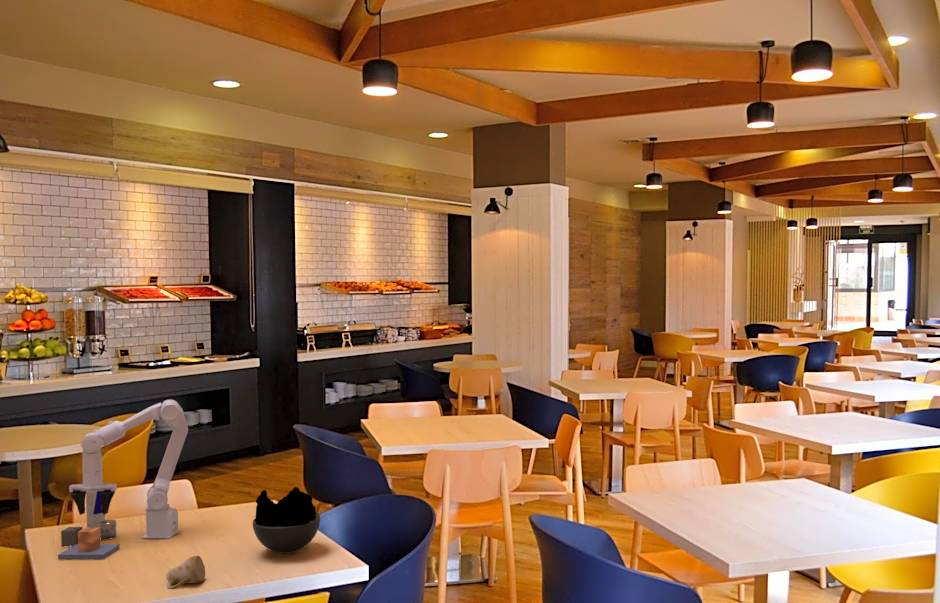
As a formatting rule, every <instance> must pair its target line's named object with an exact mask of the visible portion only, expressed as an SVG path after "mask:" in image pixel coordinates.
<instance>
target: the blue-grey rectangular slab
mask: <svg viewBox="0 0 940 603" xmlns="http://www.w3.org/2000/svg"><path fill="white" fill-rule="evenodd" d="M120 546H121V545H120V543H112V544H111V543H105V544H104V543H100V547H99V548H98V549H96V550H95V551H93V552H79V551H78V544H76V545H74V546H72V547H68V548H67V549H66V550H64V551H62V552H60V553H58V554H57V560H58V559H104V560H105V559H107V558H108V557H110V556H111V555H112V554H114V553H116V552H117V551H119V550H120V549H121V547H120ZM106 557H107V558H106Z"/></svg>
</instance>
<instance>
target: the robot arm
mask: <svg viewBox="0 0 940 603" xmlns="http://www.w3.org/2000/svg"><path fill="white" fill-rule="evenodd" d="M160 418H161V419H162V420H163V421H164V422H165V423H166V424H168V426H169V427H170V429H171V431H172V432H171V436H170V439H169V441H168V443H167V446H166V449H165V453H164V454H163V455H164V456H163V458H162V461H161V464H160V466H159V469H158V472H157V475H156V477H155V479H154V482H153V484H152V486H151V487H150V488H149V489H148V490H147V492H146V497H147V498H146V505H147V506H146V507H145V525H146V526H145V528H146V533H145V534H144V535H142V536H141V537H140V538H141V539H170V538H172V537H173V536H175V535H176V534H178V533H179V532H180V529H179V515H178V514H179V512H178V510H177V508H176V507H175V508H174V507H170V504H169V503H168V501H169V498H168V492H169V488H170V485H171V482H172V478H173V476H174V472H175V470H176V466H177V463H178V461H179V458H180V455H181V453H182V450H183V447H184V444H185V441H186V439H187V436H188V433H189V426H188V422H187V419H186V417H185V413H184V409H183V408H182V407H181V405H180V404H179V403H178V401H176V400H174V399H166V400H163V402H158V403H155V404H153V405H151V406H149V407H146V408H145V409H143V410H142V411H140V412H138V413H136V414H134V415H132V416H130V417H128V418H127V419H125V420H123V421H119V420H115V421H113V420H110V421H108V422H107V424H106V425H104V426H102V427H100V428H99V429H97V428H94V429H93V431H92V432H89V433H87V434H85V435H84V437H83V438H82V440H81V444H80V448H81V449H82V458H81V460H82V465H81V466H82V483H80V484H79V483H78V484H71V485H69V487H68V489H69V493H70V497H71V498H72V500H73V501H74V503H75V506H76V508H77V511H78V514H79V515H83V514H85V513H86V491H104V492H102V493H100V496H101V499H102V511H103V514H105V515H107V514H109V510H110V506H111V501H112V500H113V497H114V495H115V493H116V491H117V490H118V487H117V486H118V485H117V483H106V482H105V483H104V482H103V479H104V478H103V475H104V474H103V456H102V448H101V447H103V446H104V447H105V446H108V445H110V444H113V443H114V442H116V441H117V440H120V439H121V438H124V437H125V435H126V433H127V431H129V430H130V429H132V428H135V427H137V426H139V425H142V424H144V423H145V422H148V421H149V420H151V421H152V420H154V421H160Z"/></svg>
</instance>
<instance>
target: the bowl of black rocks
mask: <svg viewBox="0 0 940 603" xmlns="http://www.w3.org/2000/svg"><path fill="white" fill-rule="evenodd" d="M313 499H314V498H313V496H311V494H309V493H306V492H304V491H300V488H299V487H298V486H295V487H293V488H292V489H291V490H289V492H288V494H286V496H283V497H282V498H281V499H279V500H278V502H277V503H275V502H274V500H271V499H270V498H269V497H268V491H267V490H266V489H263V490H262V491H261V492H260V494H259V495H258V496H257V498H256V499H255V503H256V507H255V518H254V519H253V520H252V529H253V533H254V534H255V536H256V539H257V540H258V541H259V542H260V544H261V545H262V546H264V547H265V548H267V549H268V550H270V551H272V552H275V553H281V554H291V553H295V552H297V551H300V550H301V549H304V548H305V547H306V546H307V545H308V544H310V542H311V541H312V540H313V539H314V538H315V536H316V535H317V533H318V531H319V527H320V523H321V522H320V521H321V515H320V514H319V513H318V512H317V511H316V509H317V508H316V507H315V505H314V504H313Z"/></svg>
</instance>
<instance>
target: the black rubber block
mask: <svg viewBox="0 0 940 603" xmlns="http://www.w3.org/2000/svg"><path fill="white" fill-rule="evenodd" d="M82 529H84V528H83V526H68V527H66V528H64V529H62V530H61V531H60V532H61V533H60V534H61V536H60V537H61V538H60V539H61V541H60V542H61V547H62V546H70V545H71V546H74V545H76V544H78V532H79V531H80V530H82Z"/></svg>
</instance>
